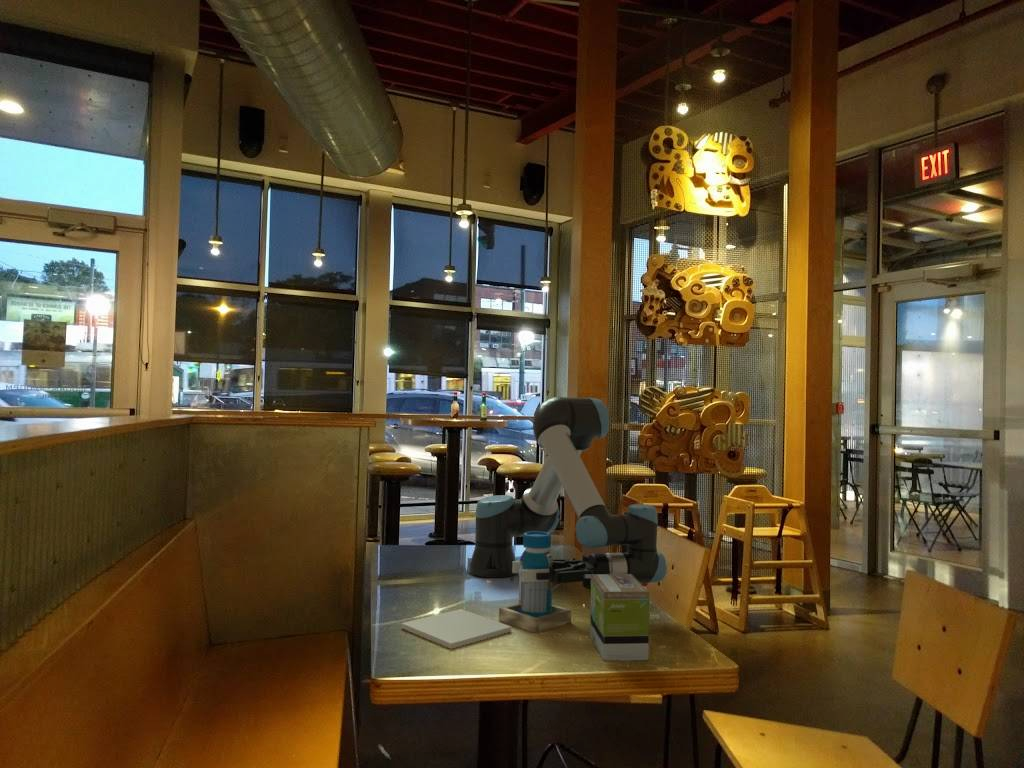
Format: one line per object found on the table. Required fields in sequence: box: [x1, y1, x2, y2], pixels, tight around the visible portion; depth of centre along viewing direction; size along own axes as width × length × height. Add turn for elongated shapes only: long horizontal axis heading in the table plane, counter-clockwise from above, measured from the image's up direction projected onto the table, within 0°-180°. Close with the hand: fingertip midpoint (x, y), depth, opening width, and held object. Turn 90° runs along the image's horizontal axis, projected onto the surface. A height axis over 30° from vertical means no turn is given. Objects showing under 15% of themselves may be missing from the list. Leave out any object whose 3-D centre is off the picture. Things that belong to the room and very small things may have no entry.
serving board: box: [401, 608, 512, 650], centre depth 164 cm, size 18×18×1 cm
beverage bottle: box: [518, 532, 554, 618], centre depth 173 cm, size 8×8×20 cm
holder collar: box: [498, 602, 572, 634], centre depth 173 cm, size 12×12×3 cm
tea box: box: [589, 574, 650, 662], centre depth 155 cm, size 15×10×15 cm, turn 5°
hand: (517, 571), depth 172 cm, fingers closed on beverage bottle, 8 cm apart
